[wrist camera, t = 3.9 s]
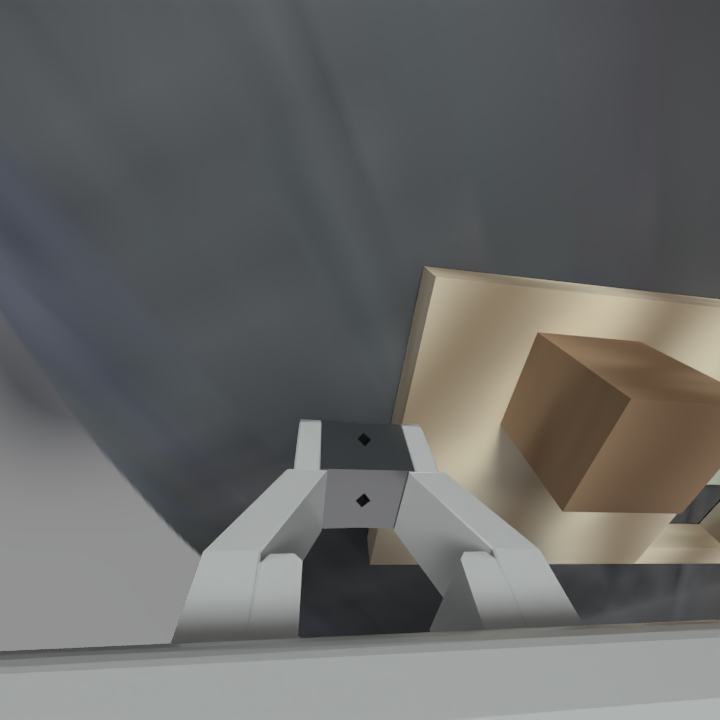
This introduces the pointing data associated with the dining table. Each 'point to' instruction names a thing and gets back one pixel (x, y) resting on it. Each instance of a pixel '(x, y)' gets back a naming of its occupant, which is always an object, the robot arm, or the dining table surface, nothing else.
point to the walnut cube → (615, 425)
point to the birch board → (495, 388)
